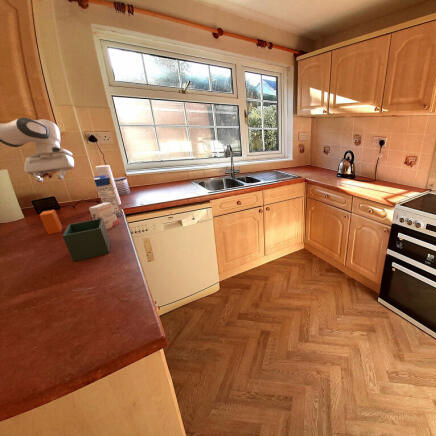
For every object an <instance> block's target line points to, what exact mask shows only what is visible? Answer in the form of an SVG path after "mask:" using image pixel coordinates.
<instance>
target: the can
mask: <svg viewBox="0 0 436 436" xmlns="http://www.w3.org/2000/svg"><path fill="white" fill-rule="evenodd" d="M114 182H115V185H116V188H117V191H118V195H119V197H121V196H125V195H126V196H127V195H129V194H131V189H130V186H129V183H128V180H127V176H122V177H121V176H120V177H115V178H114Z"/></svg>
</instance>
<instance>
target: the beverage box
mask: <svg viewBox="0 0 436 436" xmlns="http://www.w3.org/2000/svg"><path fill="white" fill-rule="evenodd" d="M93 181H94V185H95V187H96V190H97V192H98V196H99V199H100V201H101V204H102V203H107V202H109V203H112V206H113V209H114V211H115V214H116V217H117V218H118V217H122V216H123V215H122V212H121V209H120V205H118V202H117V199H116V196H115V192H114V189H113V186H112V183H111V180H110V177H109V175H103V176H98V175H96V176H93Z"/></svg>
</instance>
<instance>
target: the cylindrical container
mask: <svg viewBox="0 0 436 436" xmlns="http://www.w3.org/2000/svg"><path fill="white" fill-rule="evenodd" d="M95 171H96V173H97V176H103V175H109V177H110V180H111V183H112V186H113V189H114V192H115V196H116V199H117V202H118V205H119V206H120V205H122V201H121V198H120V196H119V195H118V191H117V188H116V185H115V182H114V179H115V178H114V176H113V172H112V169H111V166H110V165H109V164H103V165H96V166H95Z"/></svg>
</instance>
